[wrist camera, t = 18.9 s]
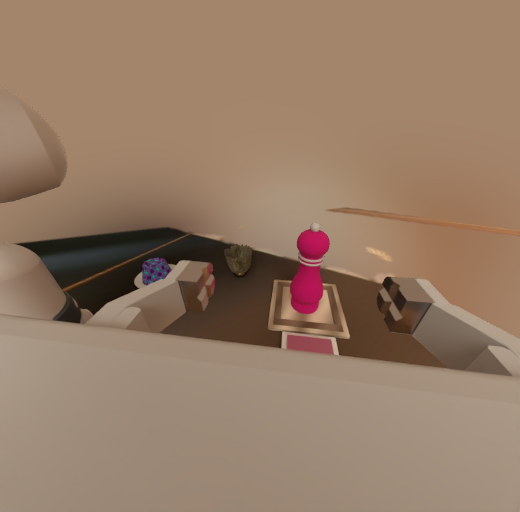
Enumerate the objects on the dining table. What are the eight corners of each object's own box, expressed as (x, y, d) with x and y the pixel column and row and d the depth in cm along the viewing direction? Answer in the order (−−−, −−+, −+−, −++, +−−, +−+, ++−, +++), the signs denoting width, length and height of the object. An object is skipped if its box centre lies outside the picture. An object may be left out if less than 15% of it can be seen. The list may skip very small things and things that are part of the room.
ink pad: (278, 389, 31) (279, 383, 30) (282, 335, 40) (282, 329, 39) (345, 400, 30) (348, 394, 29) (334, 341, 38) (335, 335, 37)
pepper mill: (282, 301, 47) (287, 221, 36) (303, 289, 50) (313, 213, 40) (304, 321, 42) (318, 234, 31) (327, 306, 45) (345, 224, 35)
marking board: (267, 329, 41) (267, 327, 40) (274, 281, 54) (274, 279, 54) (349, 338, 39) (350, 336, 38) (334, 286, 52) (335, 283, 52)
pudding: (125, 285, 54) (117, 269, 51) (158, 263, 64) (154, 248, 61) (159, 296, 50) (153, 279, 48) (189, 270, 60) (185, 255, 57)
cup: (241, 264, 62) (239, 241, 58) (258, 273, 57) (257, 249, 53) (222, 274, 57) (218, 250, 53) (239, 286, 53) (237, 260, 49)
